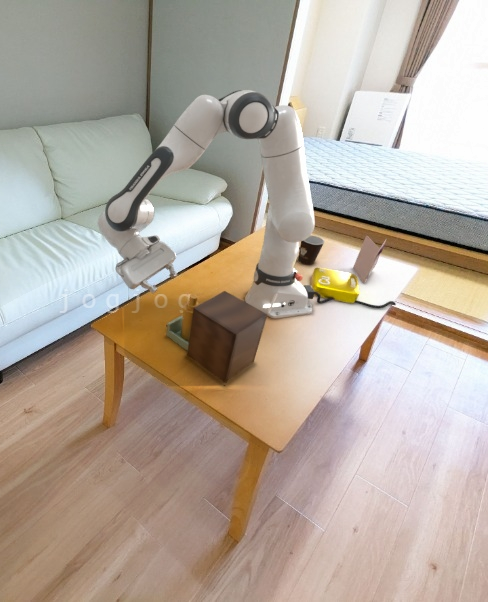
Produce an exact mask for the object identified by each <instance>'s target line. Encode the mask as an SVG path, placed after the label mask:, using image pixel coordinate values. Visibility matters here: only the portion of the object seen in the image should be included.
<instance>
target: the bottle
mask: <svg viewBox="0 0 488 602" xmlns="http://www.w3.org/2000/svg"><path fill="white" fill-rule="evenodd" d="M198 298H199V296H198V295H197V294H195V293H193V294H192V293H191V294H190V295H189V300H187V301H186V303H185V304H184V305H183V310H182V315H183V317H182V326H181V334H180V336H181V338H182V339H184V340H186V341H189V338H190V330H191V323H192V316H193V309H194V307H196V306H198V305H200V302H199V301H198Z"/></svg>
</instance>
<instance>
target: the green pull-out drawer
mask: <svg viewBox="0 0 488 602" xmlns="http://www.w3.org/2000/svg"><path fill="white" fill-rule="evenodd" d="M182 317H183V314H182V315H180V316H177V317H176V318H174V319H173V320H170V321H169V322H167V324H166V326H165V327H166V337H168V338H169V339H170V340H172V341H173V342H175V343H176V344H177V345H179V346H180V347H181V348H183V349H184V350H186V351H187V352H188V345H189V341H186V340H184V339H182V338H181V336H180V334H181V326H182Z"/></svg>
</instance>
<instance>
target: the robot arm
mask: <svg viewBox="0 0 488 602" xmlns="http://www.w3.org/2000/svg"><path fill="white" fill-rule="evenodd" d="M226 132H227V133H229V134H230V135H232V136H234V137H237V138H238V139H242V140H257V141H258V144H259V151H260V152H259V153H260V158H261V164H262V170H263V171H262V172H263V176H264V182H265V186H266V191H267V198H268V202H269V203H268V209H267V215H266V220H265V226H264V233H263V234H264V235H263V241H262V242H263V243H262V248H261V251H260V255H259V259H258V262H257V264H256V267H255V269H254V272H253V281H252V283H251V286H250V288H249V289H248V292H247V293H246V295H245V297H244V302H246V303H248V304H250V305H252V306H253V307H255V308H257V309H259V310H261V311H262V312H264V313H266V314H267V317H269V318H270V319H273V320H274V319H282V318H290V317H297V316H304V315H309V314H312V312H313V305H312V303H311V301H310V300H313V299H314V297H315V295H317V296H316V297H317V298H316V303H317V304H320V305H321V304H325V303H327V302H329V301H335V300H334V299H335V298H333V297H330V298H324V299H323V300H321V298H322V297H321V296H320V294H319V293H318V292H315V291H314V290H313V288H312V287H311V284H307V285H306V284H304V285H303V284H302V282H301V281H302V280H303V278H304V277H303V276H302V274H301V273H298V270H297V269H295V266H296V262H297V260H298V256H299V247H300V243H301V241H303V240H305V239H307V238H308V237H309V236H310V235H312V234H313V232H314V230H315V226H316V225H315V224H316V219H315V212H314V205H313V200H312V193H311V188H310V183H309V178H308V177H309V176H308V174H307V173H308V171H307V164H306V155H305V145H304V138H303V132H302V127H301V123H300V119H299V117H298V113H297V111H296V110H295V108H294V107H292V106H290V105H277V106H275V105H273V103H272V102H271V101H270V100H269V98H268V97H267V96H266V95H264V94H262V93H261V92H257V91H255V90H251V89H242V90H241V89H240V90H235V91H232V92H231V93H230V92H229V93H228V94H227V95H225V96H223V97H221V98H219V99H217V98H216V97H215V96H213V95H210V94H201V95H199V96H197V97H196V98H195V99H194V100H193V101H192V102H191V103H190V104H188V106H187V107H186V109H184V111H183V112H182V113H181V115H180V116H179V117H178V118H177V120H176V121H175V123H174V124H173V125H172V127H171V129H170V130H169V131H168V132H167V134H166V136H165V137H164V138H163V140H162V141H161V143H160V144H159V145H158V146H157V147H156V149H155V150H154V151H153V152H152V153H151V154H150V155H149V156H148V158H147V159H146V160H145V161H144V163H143V164H142V165H141V166H140V167H139V169H138V170H137V171H136V173H135V174H134V175H133V176H132V177H131V179H130V180H129V182H128V183H126V185H125V187H124V188H122V190H121V191H119V192H118V193H116V194H115V195H113V196H111V198H109V199H108V201H107V202H106V205H105V210H103V212H101V214H100V215H99V217H98V219H97V220H98V221H97V228H98V231H99V233H100V234H101V235H102V237H103V238H104V239H105V240H106V241H107V243H108V244H109V245H110V246H111V247H112V248H115V250H116V251H117V254H118V255H119V256H120V257H121V258H122V259H123V260H121V261H120V262H118V263H116V264H115V268H114V269H115V272H116V273H117V274H118V276H120V278H121V279H122V281H123V283H124V284H125V285H126V287H127V288H128V289H130V290H135V289H137V288H138V287H140V286H141V288H143V289H145V290H147V291H149V292H150V293H151V294H155V293H156V292H157V291H158V287H157V286H156V285H155V284H150V283H148V280H150V279H151V278H153V277H154V276H156V275H157V274H159V273H160V272H161V271H163V270H164V269H165V270H167V271H169V275H168V277H170V278H171V279H172V280H173V279H175V278H177V276H178V272H176V271H175V267H174V264H173V263H174V261H176V259H177V254H176V252H175V251H174V250H173V249H172V248H171V247H170V246H169V245H168V244H167V243H166V242H164V241H161V237H160V236H159V235H155V234H154V235H150V236H143V237H142V236H141V234H140V232H142V231H143V230H145V228H147V227H148V226H149V225H150V224H151V223H152V222H153V220H154V218H155V207H154V205H153V203H152V202H151V201H150V199H148V197H149V196H150V194H151V193H152V192H153V190H154V189H155V187H157V185H158V184H159V183H160V182H161V181H162V180H163V179H164V178H166V177H168V176H170V175H173V174H175V173H178V172H181V171H186V170H188V169H190V168H191V167H192V166H193V165H194V164H195V163H197V161H198V160H199V159H200V158H201V157H202V155H203V154H204V153H205V151H206V150H207V149H208V147H209V146H210V144H211V143H212V141H213V140H214V139H215V138H217V137H218V136H219V135H220V134H223V133H226ZM314 294H315V295H314ZM353 304H357V305H362V306H364V307H368V308H371V309H384V308H387V307H388V306H391V305H392V306H397V303H396V302H395V301H394V300H389V301H386V303H384V304H382V305H381V304H380V305H375V304H371V303H367V302H363V301H362V300H361V301H360V300H358V299H357V300H356V301H355V302H354V303H353Z"/></svg>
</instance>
